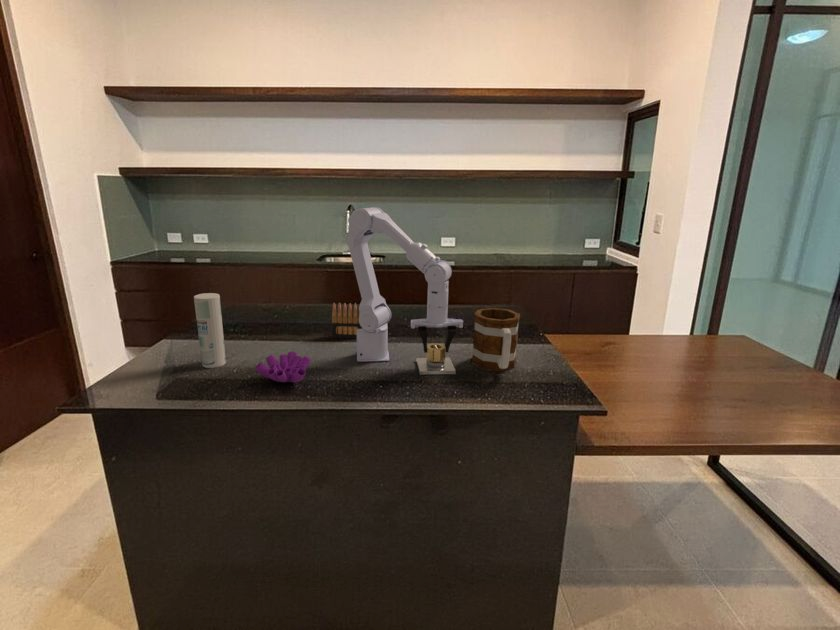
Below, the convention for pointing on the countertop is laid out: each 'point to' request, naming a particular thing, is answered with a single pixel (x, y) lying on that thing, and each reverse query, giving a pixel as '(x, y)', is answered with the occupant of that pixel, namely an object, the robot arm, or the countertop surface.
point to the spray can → (210, 329)
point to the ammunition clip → (345, 322)
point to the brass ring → (435, 352)
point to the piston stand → (435, 366)
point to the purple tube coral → (284, 367)
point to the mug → (495, 339)
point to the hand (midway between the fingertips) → (435, 351)
